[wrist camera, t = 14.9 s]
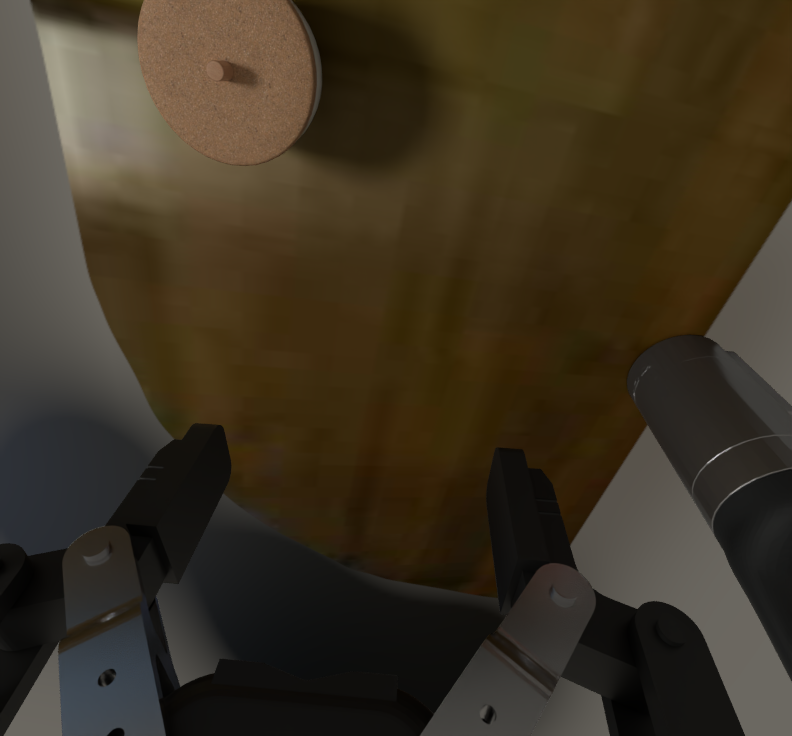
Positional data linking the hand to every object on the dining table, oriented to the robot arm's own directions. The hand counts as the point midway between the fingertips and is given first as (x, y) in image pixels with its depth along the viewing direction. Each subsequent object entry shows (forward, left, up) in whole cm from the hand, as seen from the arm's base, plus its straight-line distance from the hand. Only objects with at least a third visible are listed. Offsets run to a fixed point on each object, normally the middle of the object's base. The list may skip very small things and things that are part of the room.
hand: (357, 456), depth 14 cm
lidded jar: (+11, -9, -30) cm, 33 cm away
